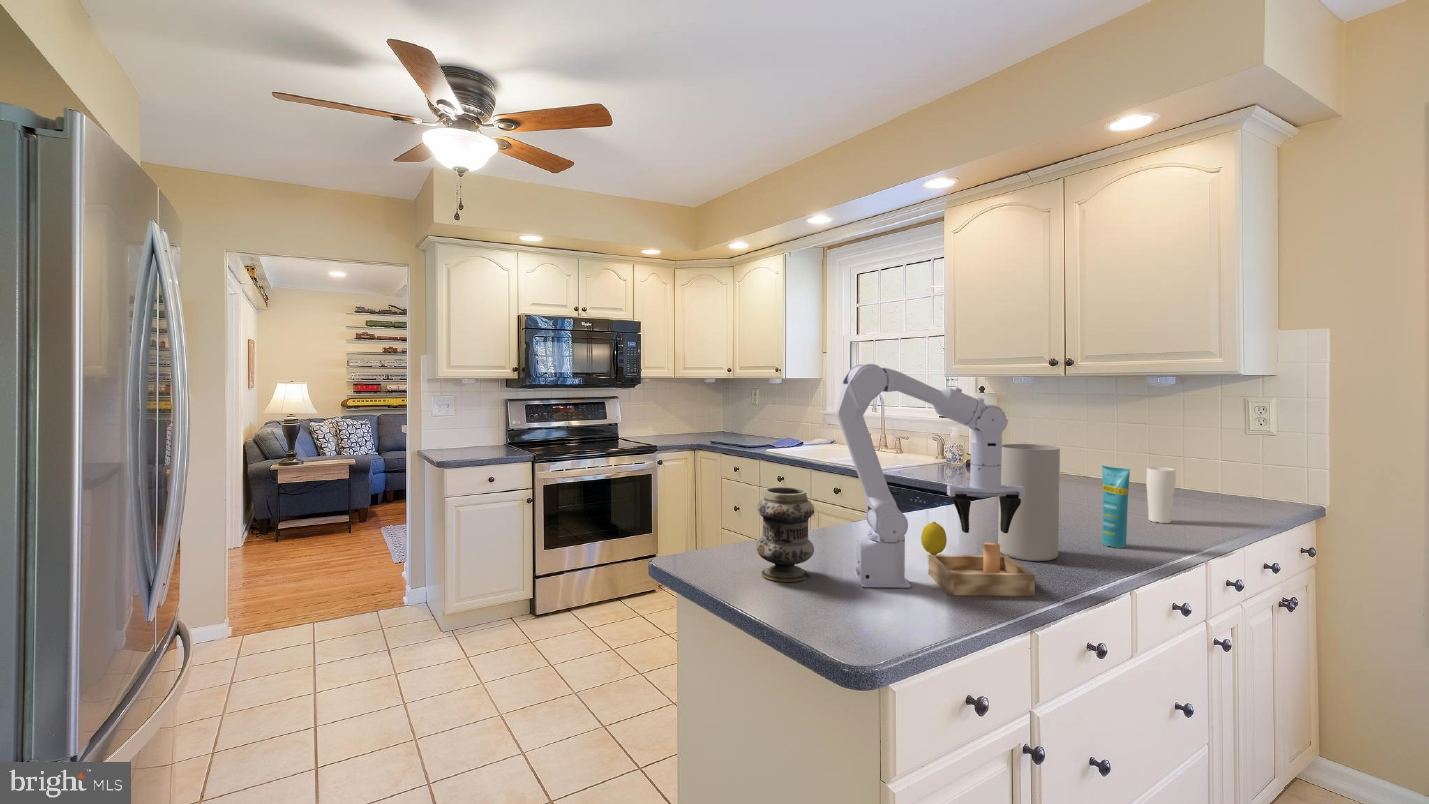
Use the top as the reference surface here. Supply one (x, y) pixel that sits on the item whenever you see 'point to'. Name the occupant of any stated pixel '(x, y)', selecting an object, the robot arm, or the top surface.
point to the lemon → (933, 538)
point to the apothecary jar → (785, 533)
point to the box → (980, 576)
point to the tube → (1115, 505)
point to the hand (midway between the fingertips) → (984, 532)
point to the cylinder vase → (1032, 501)
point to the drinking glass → (1160, 493)
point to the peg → (991, 558)
